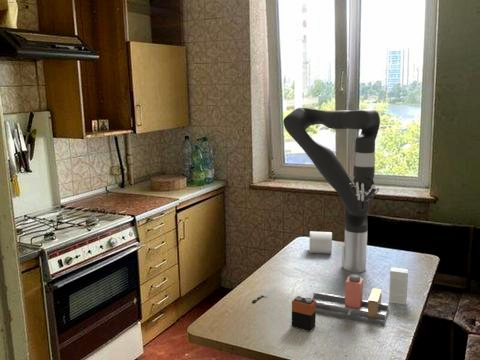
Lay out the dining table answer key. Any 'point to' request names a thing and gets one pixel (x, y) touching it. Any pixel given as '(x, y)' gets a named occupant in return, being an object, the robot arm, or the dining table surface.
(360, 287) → the pink dome-topped pillar
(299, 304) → the battery
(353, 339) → the dining table surface
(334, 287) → the dining table surface
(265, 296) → the chef's knife
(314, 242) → the toilet paper
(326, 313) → the rail
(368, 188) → the robot arm
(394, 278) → the skincare box
